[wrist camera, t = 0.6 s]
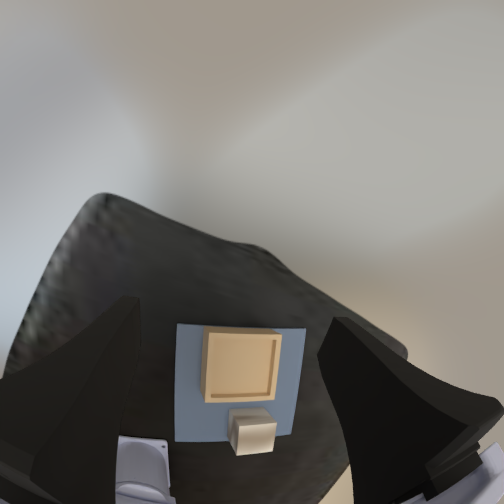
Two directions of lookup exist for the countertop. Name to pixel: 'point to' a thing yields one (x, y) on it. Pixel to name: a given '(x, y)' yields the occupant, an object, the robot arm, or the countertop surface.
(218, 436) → the board
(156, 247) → the countertop surface
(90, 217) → the countertop surface
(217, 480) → the countertop surface
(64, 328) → the countertop surface
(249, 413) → the cream block
